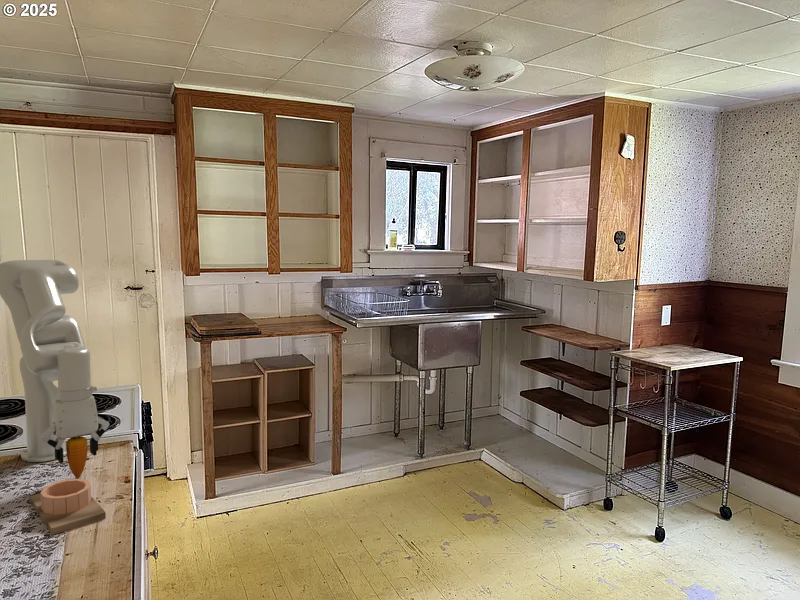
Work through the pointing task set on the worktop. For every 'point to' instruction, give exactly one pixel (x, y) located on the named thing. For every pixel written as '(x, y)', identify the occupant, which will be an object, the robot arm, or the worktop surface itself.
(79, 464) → the carrot
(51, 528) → the walnut board
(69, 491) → the terracotta cup
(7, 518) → the worktop surface
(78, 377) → the robot arm
